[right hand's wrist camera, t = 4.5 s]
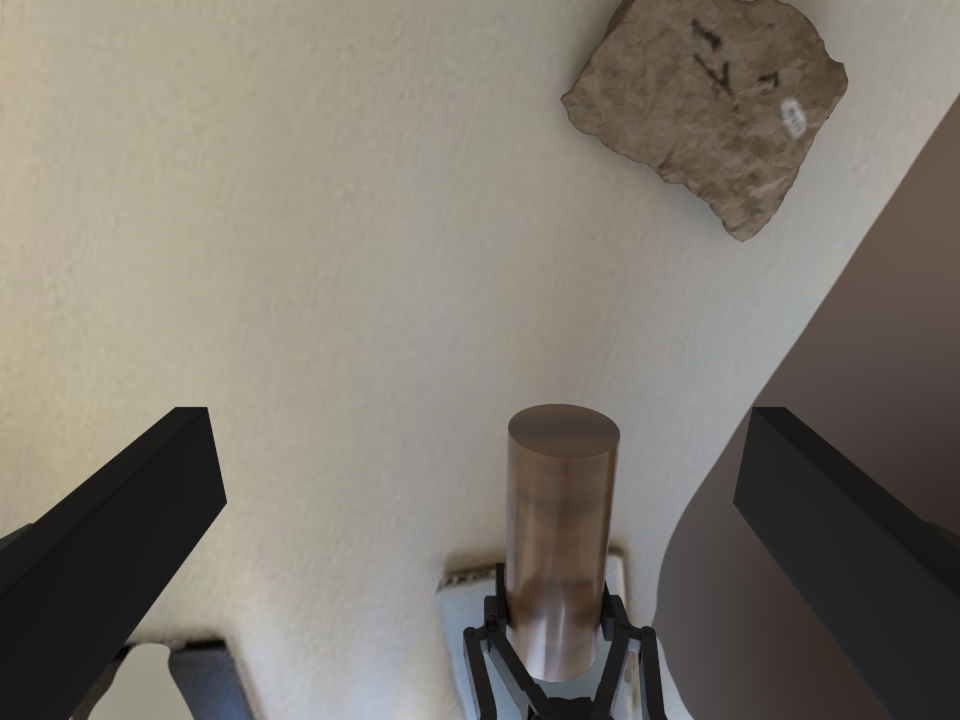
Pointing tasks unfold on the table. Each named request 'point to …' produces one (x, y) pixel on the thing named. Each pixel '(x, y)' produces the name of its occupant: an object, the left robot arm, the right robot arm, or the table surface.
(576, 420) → the rod
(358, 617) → the table surface
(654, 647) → the left robot arm
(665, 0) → the stone
